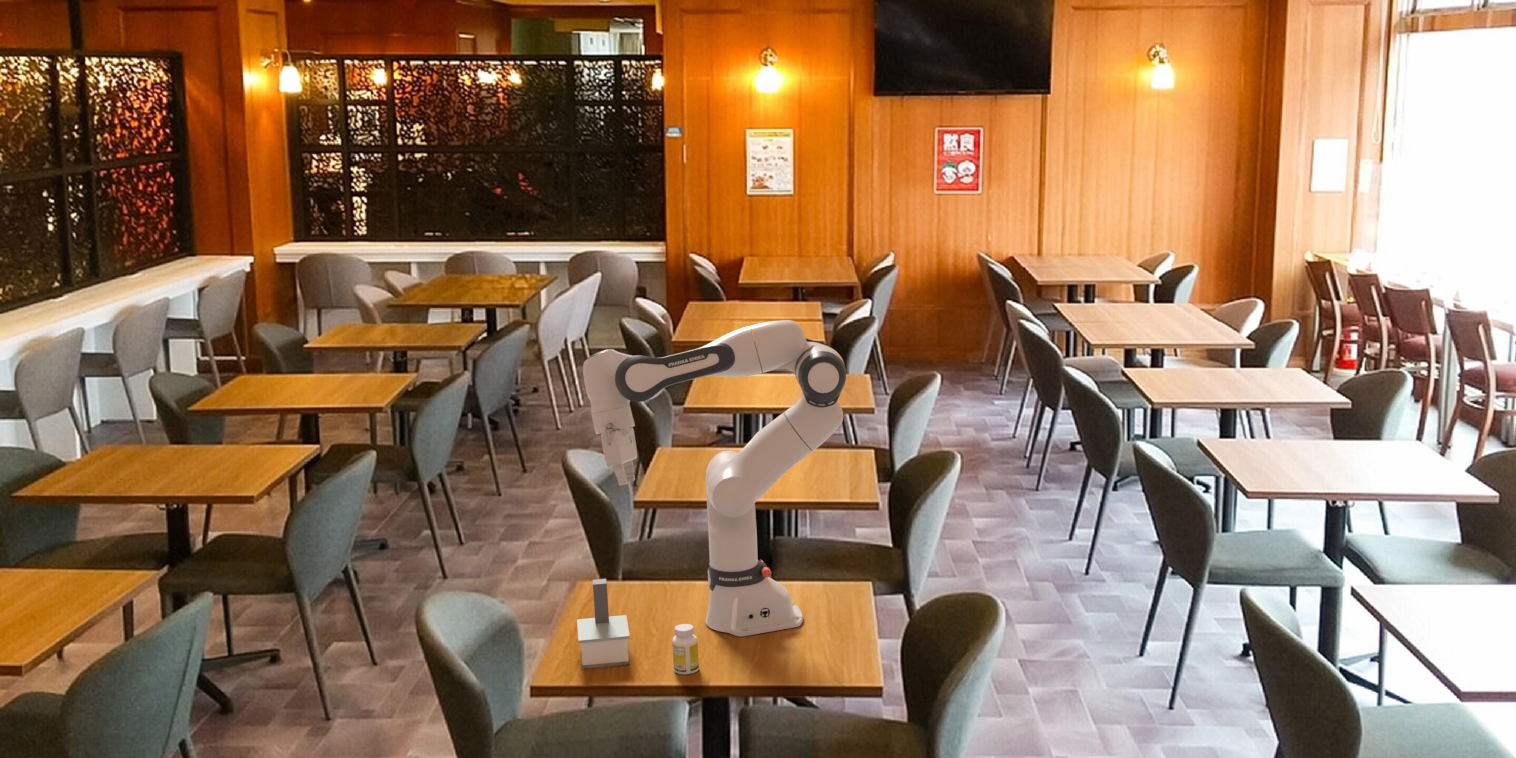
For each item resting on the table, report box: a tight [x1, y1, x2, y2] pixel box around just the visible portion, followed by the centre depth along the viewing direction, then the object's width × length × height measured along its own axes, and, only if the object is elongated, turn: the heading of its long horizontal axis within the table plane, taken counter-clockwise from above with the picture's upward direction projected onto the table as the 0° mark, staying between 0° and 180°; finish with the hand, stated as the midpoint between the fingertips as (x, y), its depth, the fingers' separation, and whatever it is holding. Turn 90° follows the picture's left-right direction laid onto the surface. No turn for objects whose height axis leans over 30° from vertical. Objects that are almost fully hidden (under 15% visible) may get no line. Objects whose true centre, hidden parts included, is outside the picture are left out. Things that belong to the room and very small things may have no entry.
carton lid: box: [576, 578, 631, 644], centre depth 314 cm, size 12×11×10 cm
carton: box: [580, 639, 630, 670], centre depth 315 cm, size 11×10×6 cm
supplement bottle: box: [671, 623, 700, 676], centre depth 307 cm, size 5×5×10 cm
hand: (627, 483), depth 320 cm, fingers open, 8 cm apart
